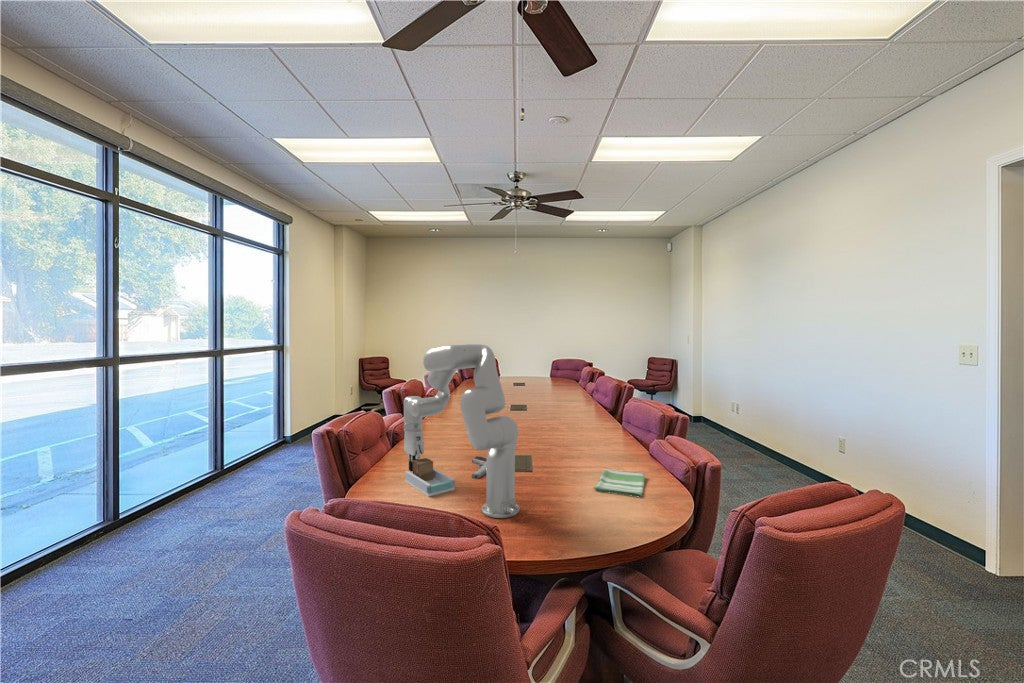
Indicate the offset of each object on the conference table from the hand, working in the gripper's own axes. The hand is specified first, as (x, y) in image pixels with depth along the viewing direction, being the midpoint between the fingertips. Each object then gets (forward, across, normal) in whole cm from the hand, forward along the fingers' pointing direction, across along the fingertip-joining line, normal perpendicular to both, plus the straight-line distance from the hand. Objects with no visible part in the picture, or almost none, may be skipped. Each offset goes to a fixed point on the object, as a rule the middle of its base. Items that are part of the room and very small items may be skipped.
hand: (413, 470), depth 182 cm
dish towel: (+3, -58, -61) cm, 85 cm away
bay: (+2, -14, 0) cm, 15 cm away
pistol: (+3, -8, -27) cm, 28 cm away
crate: (+1, -9, 0) cm, 9 cm away
